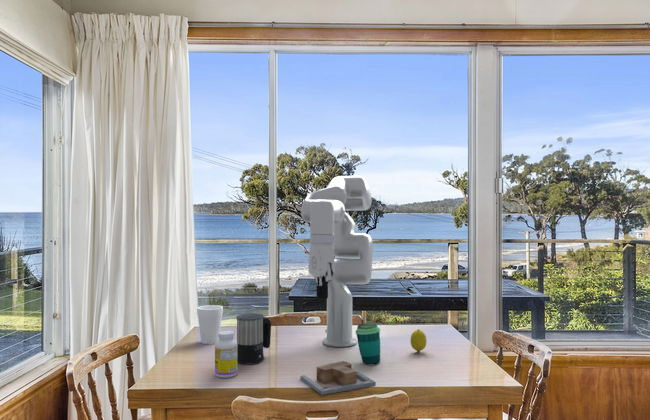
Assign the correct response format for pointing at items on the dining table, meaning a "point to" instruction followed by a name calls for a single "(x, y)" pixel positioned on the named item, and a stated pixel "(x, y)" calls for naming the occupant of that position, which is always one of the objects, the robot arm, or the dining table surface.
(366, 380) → the grey u-shaped bar
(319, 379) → the t block
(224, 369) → the supplement bottle
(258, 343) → the milk frother
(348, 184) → the robot arm
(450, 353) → the dining table surface
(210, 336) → the foam cup
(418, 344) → the lemon
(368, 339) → the cup
